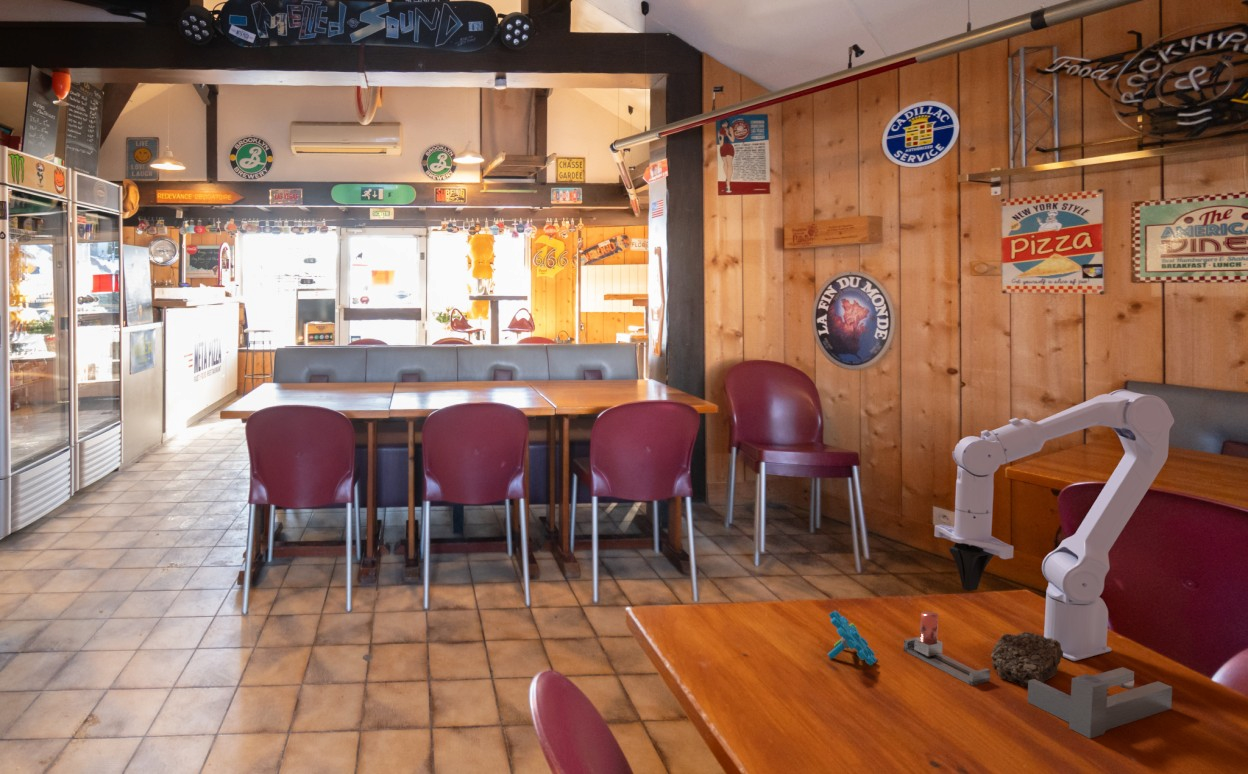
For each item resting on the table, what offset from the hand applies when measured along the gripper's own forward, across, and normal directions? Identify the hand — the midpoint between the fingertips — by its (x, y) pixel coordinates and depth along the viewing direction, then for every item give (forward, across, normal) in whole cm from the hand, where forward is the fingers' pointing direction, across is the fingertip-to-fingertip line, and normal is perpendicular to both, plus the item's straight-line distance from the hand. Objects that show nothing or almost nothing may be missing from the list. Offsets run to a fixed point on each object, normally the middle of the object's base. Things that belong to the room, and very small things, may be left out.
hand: (969, 589), depth 137 cm
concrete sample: (+10, +11, 0) cm, 15 cm away
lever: (+10, +1, -10) cm, 14 cm away
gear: (+10, -4, -22) cm, 24 cm away
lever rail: (+10, +4, -10) cm, 14 cm away
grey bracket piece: (+9, +24, -1) cm, 26 cm away
